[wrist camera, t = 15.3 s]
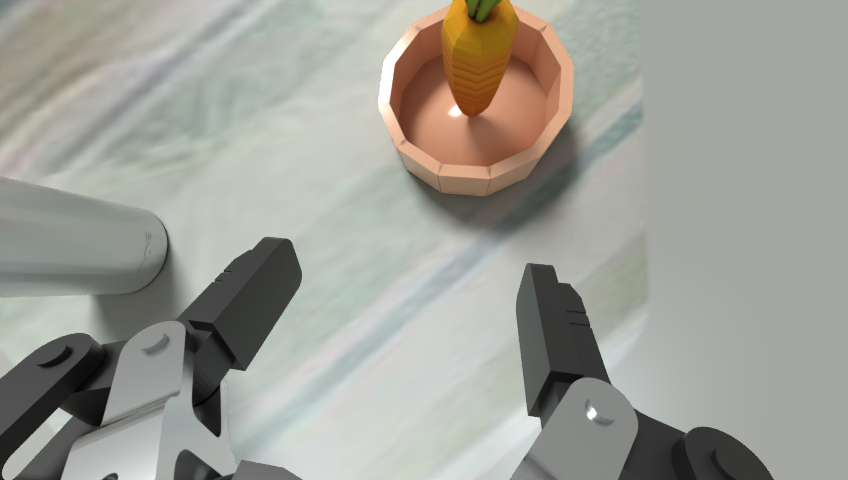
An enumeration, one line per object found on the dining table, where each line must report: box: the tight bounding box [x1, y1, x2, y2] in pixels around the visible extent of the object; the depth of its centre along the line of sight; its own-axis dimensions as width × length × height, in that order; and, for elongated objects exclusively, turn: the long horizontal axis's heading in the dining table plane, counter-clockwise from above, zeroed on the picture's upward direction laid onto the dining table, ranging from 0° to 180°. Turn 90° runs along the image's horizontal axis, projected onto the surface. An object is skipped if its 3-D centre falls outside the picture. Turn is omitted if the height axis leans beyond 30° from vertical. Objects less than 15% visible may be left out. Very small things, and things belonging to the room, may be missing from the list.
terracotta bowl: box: [378, 4, 574, 196], centre depth 28 cm, size 16×16×5 cm
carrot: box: [441, 0, 519, 117], centre depth 22 cm, size 5×5×15 cm
